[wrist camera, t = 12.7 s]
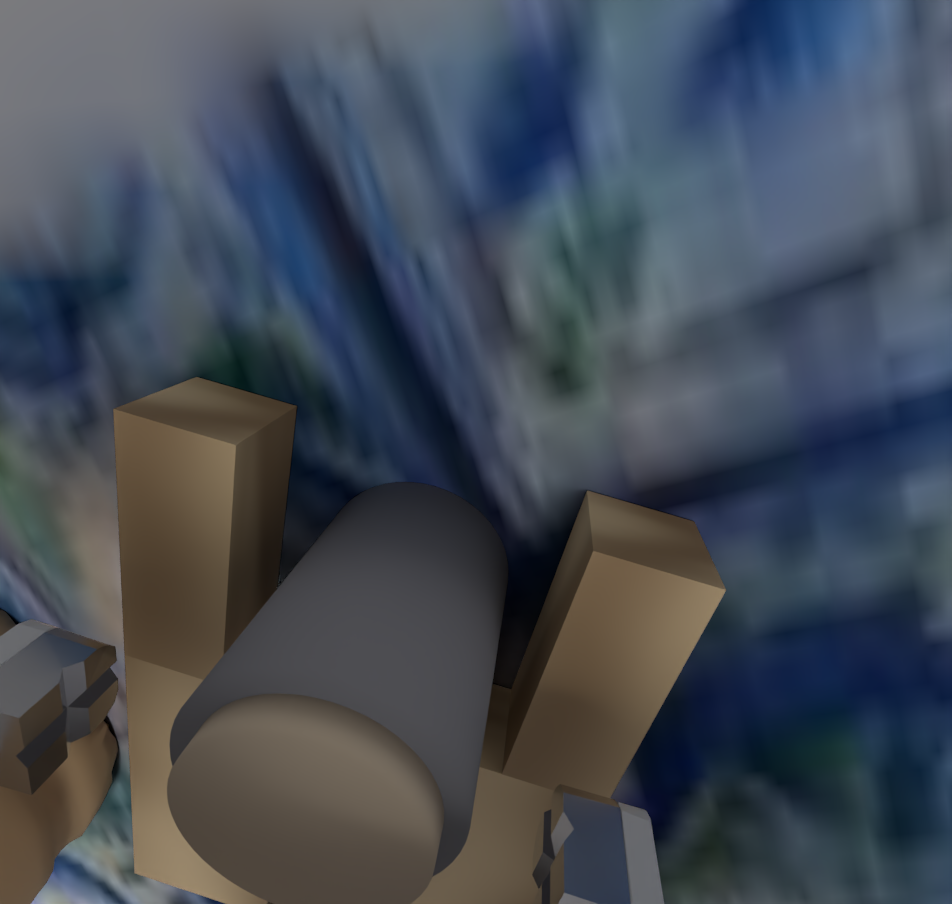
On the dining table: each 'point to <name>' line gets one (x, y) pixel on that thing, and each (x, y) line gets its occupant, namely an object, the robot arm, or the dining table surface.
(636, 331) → the dining table surface
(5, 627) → the container
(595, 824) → the robot arm
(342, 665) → the grey cylinder peg
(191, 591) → the wooden hook stand
